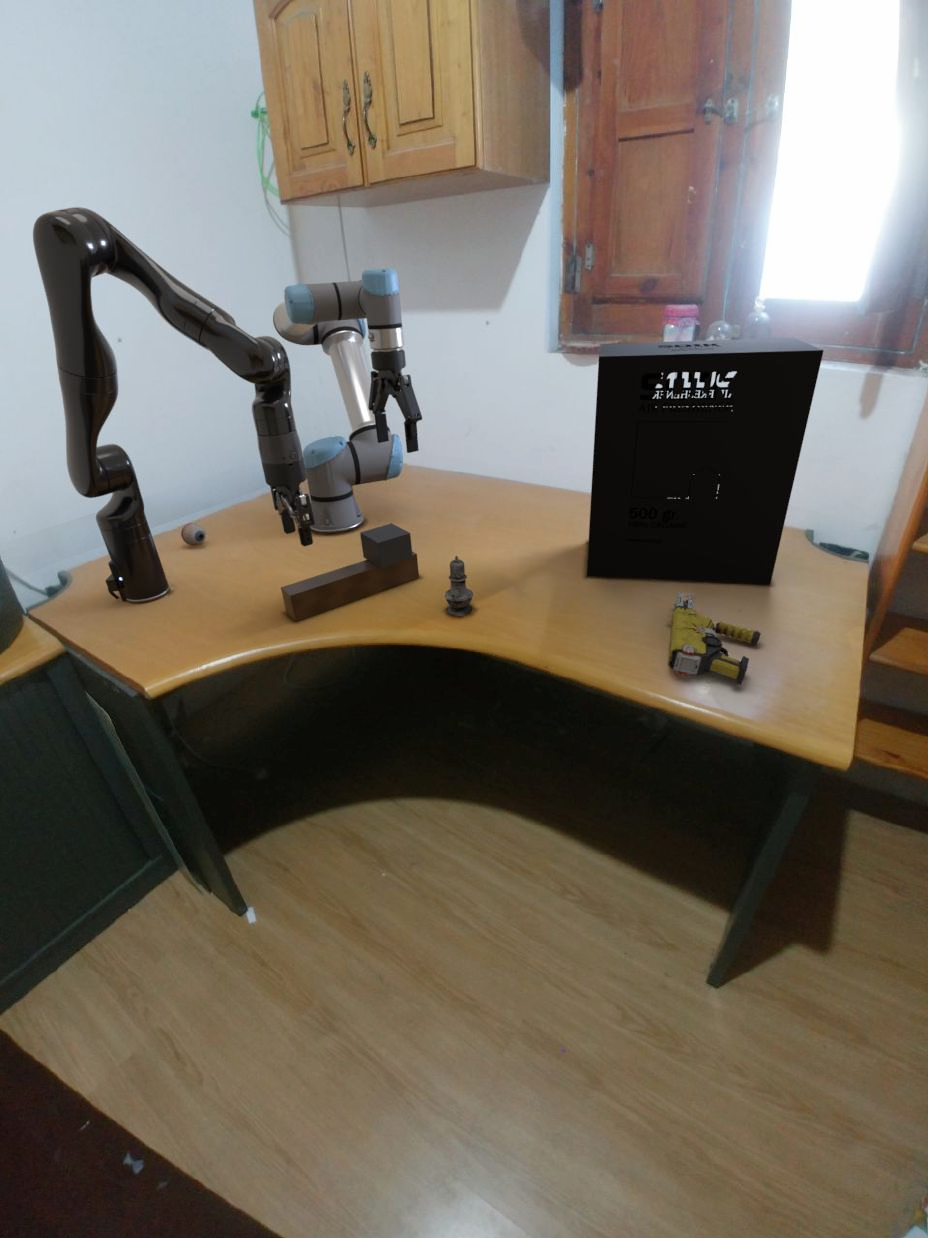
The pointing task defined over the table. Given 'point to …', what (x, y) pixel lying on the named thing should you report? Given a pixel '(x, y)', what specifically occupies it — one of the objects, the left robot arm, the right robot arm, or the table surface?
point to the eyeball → (193, 534)
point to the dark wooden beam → (344, 586)
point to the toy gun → (704, 643)
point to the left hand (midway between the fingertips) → (298, 538)
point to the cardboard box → (696, 457)
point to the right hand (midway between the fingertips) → (397, 446)
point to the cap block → (386, 545)
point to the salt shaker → (458, 590)
